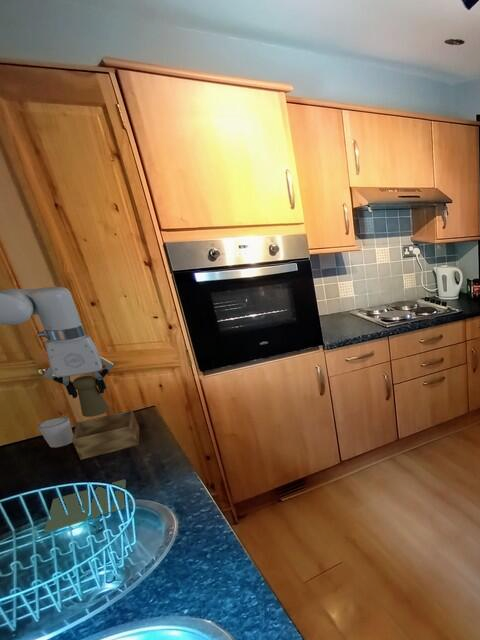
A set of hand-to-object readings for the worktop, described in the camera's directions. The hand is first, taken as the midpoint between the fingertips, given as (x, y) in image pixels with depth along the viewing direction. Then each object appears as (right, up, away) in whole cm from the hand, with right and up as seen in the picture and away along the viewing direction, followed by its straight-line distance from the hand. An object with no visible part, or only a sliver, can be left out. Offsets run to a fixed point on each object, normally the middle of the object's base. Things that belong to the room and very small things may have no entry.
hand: (89, 393), depth 130 cm
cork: (0, -6, +2) cm, 6 cm away
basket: (0, -15, +7) cm, 17 cm away
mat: (+18, -27, -19) cm, 38 cm away
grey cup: (-15, -15, +7) cm, 22 cm away
